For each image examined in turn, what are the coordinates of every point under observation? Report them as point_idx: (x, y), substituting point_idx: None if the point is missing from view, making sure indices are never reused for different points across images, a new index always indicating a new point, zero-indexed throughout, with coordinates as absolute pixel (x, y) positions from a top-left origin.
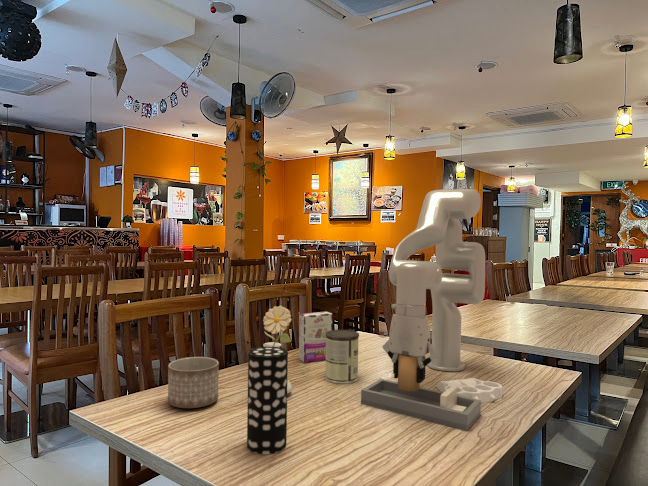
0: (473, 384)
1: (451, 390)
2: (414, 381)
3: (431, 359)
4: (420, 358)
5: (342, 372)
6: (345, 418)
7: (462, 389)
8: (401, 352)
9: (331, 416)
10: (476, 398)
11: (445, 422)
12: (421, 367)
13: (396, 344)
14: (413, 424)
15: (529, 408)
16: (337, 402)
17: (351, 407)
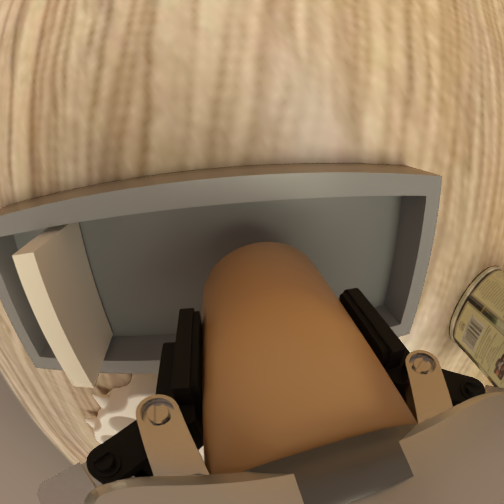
0: None
1: (53, 342)
2: (211, 305)
3: (80, 471)
4: (163, 472)
5: (496, 293)
6: (381, 19)
7: None
8: (407, 451)
9: (416, 21)
10: (99, 401)
11: (53, 195)
12: (161, 401)
13: (499, 483)
14: (144, 107)
15: (40, 410)
16: (457, 135)
17: (415, 116)
